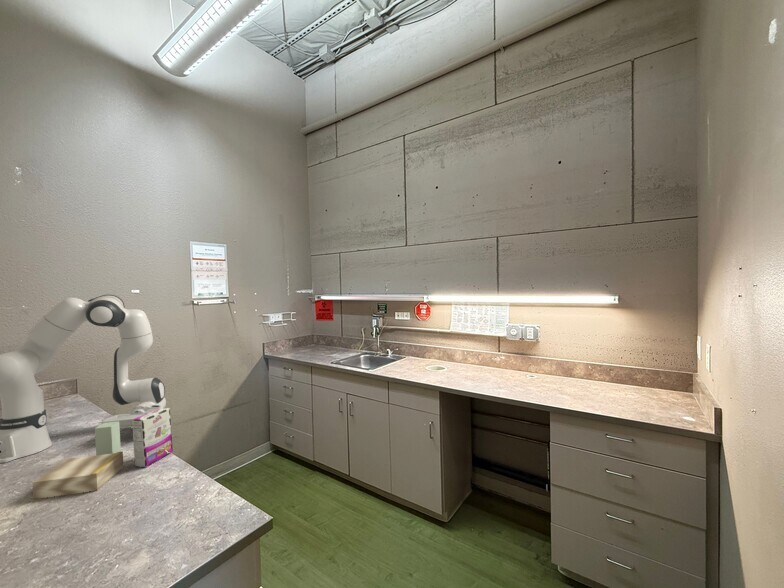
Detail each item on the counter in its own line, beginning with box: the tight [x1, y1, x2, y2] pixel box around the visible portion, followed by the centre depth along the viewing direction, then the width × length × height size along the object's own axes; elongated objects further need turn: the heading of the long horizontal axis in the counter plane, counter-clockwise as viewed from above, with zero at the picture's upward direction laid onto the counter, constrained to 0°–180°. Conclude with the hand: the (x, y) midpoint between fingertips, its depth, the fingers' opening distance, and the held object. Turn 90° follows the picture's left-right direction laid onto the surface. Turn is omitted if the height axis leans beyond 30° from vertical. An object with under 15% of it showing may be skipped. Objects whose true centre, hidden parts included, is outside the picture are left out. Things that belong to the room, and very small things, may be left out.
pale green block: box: [94, 421, 122, 456], centre depth 122 cm, size 5×5×12 cm
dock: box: [32, 450, 124, 500], centre depth 107 cm, size 16×14×5 cm
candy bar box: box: [131, 407, 174, 468], centre depth 120 cm, size 11×5×16 cm, turn 168°
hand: (123, 427), depth 132 cm, fingers open, 8 cm apart
